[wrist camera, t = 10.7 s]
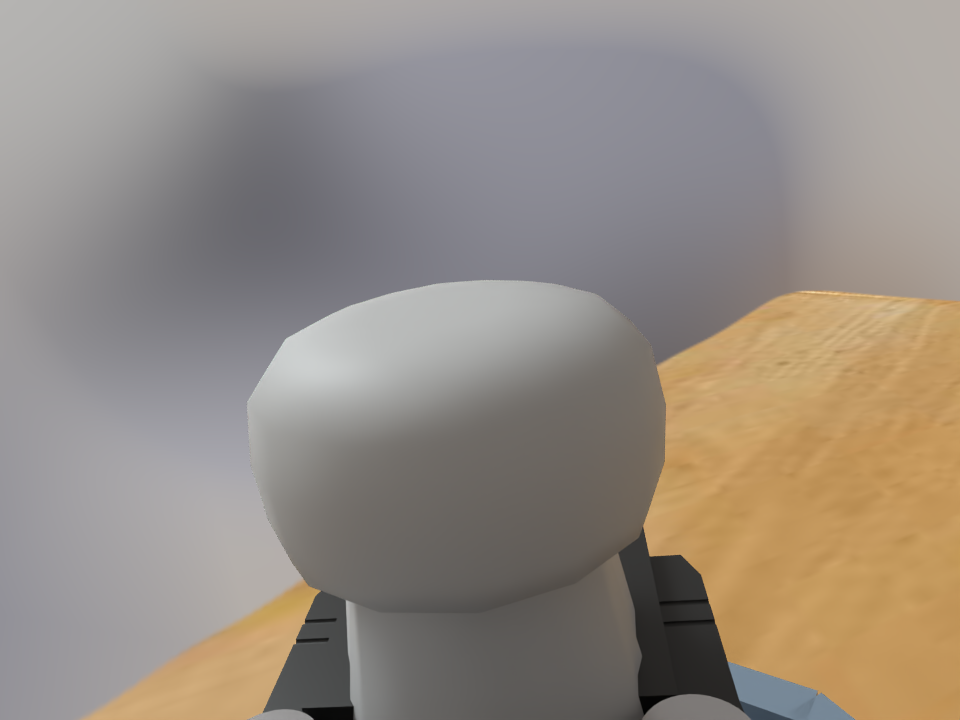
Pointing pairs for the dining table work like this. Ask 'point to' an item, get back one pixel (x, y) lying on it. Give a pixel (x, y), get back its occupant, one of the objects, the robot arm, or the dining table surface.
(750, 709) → the bowl
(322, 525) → the salt shaker
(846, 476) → the dining table surface
